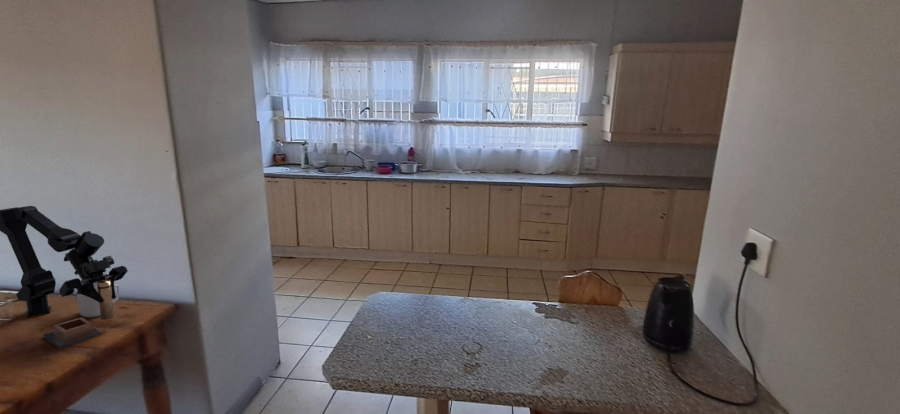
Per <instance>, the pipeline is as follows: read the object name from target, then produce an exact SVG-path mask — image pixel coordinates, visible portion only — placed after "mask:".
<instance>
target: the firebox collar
mask: <svg viewBox="0 0 900 414" xmlns="http://www.w3.org/2000/svg"><path fill="white" fill-rule="evenodd" d="M98 336H99V337H100V336H101V331H99V330H97V329H96V328H94V327H93V323H92V322H90V321H89V320H87V319H86V318H85V317H83V316H82V317H81V316H80V317H78V318H75V319H72V320H67V321H64V322H62V323H58V324H54V325H53V331H51V332H47V333H43V334H42V337H43V338H44V339H45V340H46V339H47V341H48V342H49V343H50V342H51V344H52V345H53V346H54V347H56V348H57V349H62V348H65V347H69V346H71V345H74V344H78V343H81V342H84V341H87V340H90V339H92V337H93V338H96V337H98ZM80 341H81V342H80Z"/></svg>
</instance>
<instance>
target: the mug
mask: <svg viewBox="0 0 900 414" xmlns="http://www.w3.org/2000/svg"><path fill="white" fill-rule="evenodd" d="M93 284H94V288H95V289H96V291H97V292H98V286H97V282H96V283H93ZM119 286H120V285H119V284H114V287H116V297H115V299H113V304H114V303H115V302H117V301H118V300H119V298H120V292H119V291H120V290H119ZM75 290H76V298H77V306H78V308H77V309H78V314H79V315H80V316H82V318H96V317H101V315H100V305H99V302H98V301H96V300H94V299H92V298H90V297H87V296H84V295H82V294H77V292H78V290H77V289H75Z"/></svg>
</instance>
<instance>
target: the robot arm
mask: <svg viewBox="0 0 900 414" xmlns="http://www.w3.org/2000/svg"><path fill="white" fill-rule="evenodd" d="M28 225H29V226H30V227H32V228H33V229H34V230H36V231H37V232H38V233H39V234H41V235H42V236H44V237H45V238H46V239H47V244H48V245H49V246H50V247H51V249H52V250H54V251H55V252H57V253H62V252H67V251H68V252H67V253H65V254H64V255H65V256H64V257H63V261H64V262H69V263H70V264H71V266H72V267H73V269H74V270H75V271H74V272H73V273H74V275H75V276H77V275H78V276H79V278H77V277H76V278H73V279H69V280H65V281H64V282H63V284H61V286H60V288H59V289H58V292H59V294H60V296H61V297H64V298H65V297H66V296H71V295H73V294H74V292H75V290H76V289H77V290H78V292H77V290H76V295H77V294H82V295H84V296H87V297H90V298H92V299H94V300H96V301H98V302H100V303H102V302H103V300H102V298H101V296H100V295H99V293H98V292H97V291H96V289H95V288H94V284H93V283H96V282H98V281H101V280H111V289H112V299H113V300H114V299H116V298H117V294H116V289H115V286H114V285H115V282H116V281H119V280H122V279H123V278H124V277H125V275H126V274H127V273H128V272H129V270H128V269H127V266H125V265H120V266H117V267H113V268H111V266H113V265H114V264H115V260H114V258H113V257H112V256H111V255H107V256H104V257H102V259H100V260H98V259H94V258H93V256H94V255H95V254H96V253H97V252H98V251H99V250H100V249H101V247H102V246H103V245H104V244H105V239H104V237H103V236H101V235H99V234H97V233H94V232H93V233H92V232H91V230H90V231H89V230H88V231H84V232H82V233H81V234H79V233H78V232H76V231H74V230H72V229H69V228H64V227H61V226H59V225H58V224H56V223H55V222H54V221H53V220H51V219H50V218H49V217H47V216H46V215H44V214H43V213H42V212H40V211H39V210H38V208H37V207H36V206H35V205H28V206H27V205H26V206H17V207H16V206H15V207H11V208H10V207H9V208H4V209H3V208H2V209H0V232H1V233H3V234H4V235H6V237H7V239H8V241H9V243H10V246H11V248H12V251H13V252H14V255H15V257H16V259H17V262H18V264H19V267H20V269H21V271H22V276H21V278H20V285H21V288H20V289H19V290H18V292H17V293H16V294H15V295H16V298H17V300H18V301H23V302H25V305H26V313H25V316H24V317H25V318H31V317H35V316H42V315H46V314H50V313H51V311H52V310H51V309H52V306H51V305H49V299H48V295H52V294H54V293H55V289H56V284H57V283H56V282H57V281H56V278H55V277H54V275H53V272H52V271H51V269H50V270H46V269H45V268H43V267H42V265H41V263H40V261H39V258H38V256H37V254H36V251H35V249H34V246H33V245H32V242H31V240H30V238H29V236H28V233H27V231H26V229H27V226H28ZM109 268H111V269H110V271H109V272H107V269H109Z"/></svg>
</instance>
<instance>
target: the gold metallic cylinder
mask: <svg viewBox="0 0 900 414" xmlns="http://www.w3.org/2000/svg"><path fill="white" fill-rule="evenodd" d="M97 286H98V293H99V295H100V296H101V298H102V300H103V302H102V303H100V302H99V305H100V320H103V321H104V320H110V319H113V318H115V312H114V303H113V300H114V299H113V298H112V289H111V280H101V281H98V282H97Z"/></svg>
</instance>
